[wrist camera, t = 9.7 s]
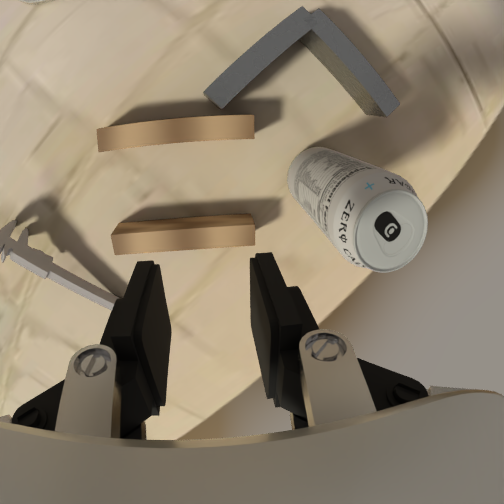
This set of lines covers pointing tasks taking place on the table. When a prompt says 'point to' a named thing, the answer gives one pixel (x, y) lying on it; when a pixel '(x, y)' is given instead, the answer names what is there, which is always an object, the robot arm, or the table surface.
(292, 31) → the gray l-shaped block
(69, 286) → the caliper
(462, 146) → the table surface
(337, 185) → the energy drink can
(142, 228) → the guide channel
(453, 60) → the table surface
